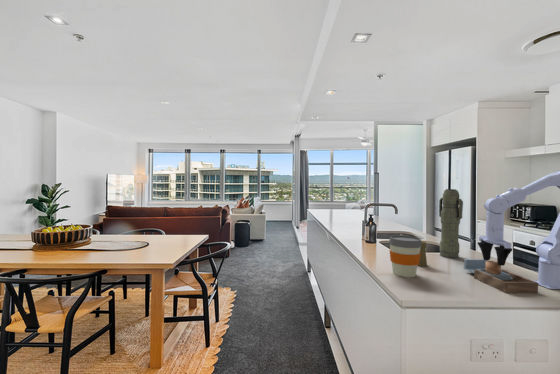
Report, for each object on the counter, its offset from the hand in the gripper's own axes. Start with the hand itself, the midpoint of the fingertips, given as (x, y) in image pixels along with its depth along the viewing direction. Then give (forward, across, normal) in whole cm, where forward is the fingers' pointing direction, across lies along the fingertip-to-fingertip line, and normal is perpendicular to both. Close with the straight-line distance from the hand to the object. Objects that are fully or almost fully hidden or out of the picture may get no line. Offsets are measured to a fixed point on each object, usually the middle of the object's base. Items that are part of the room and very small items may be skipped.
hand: (493, 262), depth 119 cm
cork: (+7, -22, -19) cm, 29 cm away
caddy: (+7, +6, 0) cm, 9 cm away
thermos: (+7, -38, +5) cm, 39 cm away
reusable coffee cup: (+7, -8, -33) cm, 34 cm away
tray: (+6, -3, 0) cm, 7 cm away
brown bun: (+5, 0, 0) cm, 5 cm away
